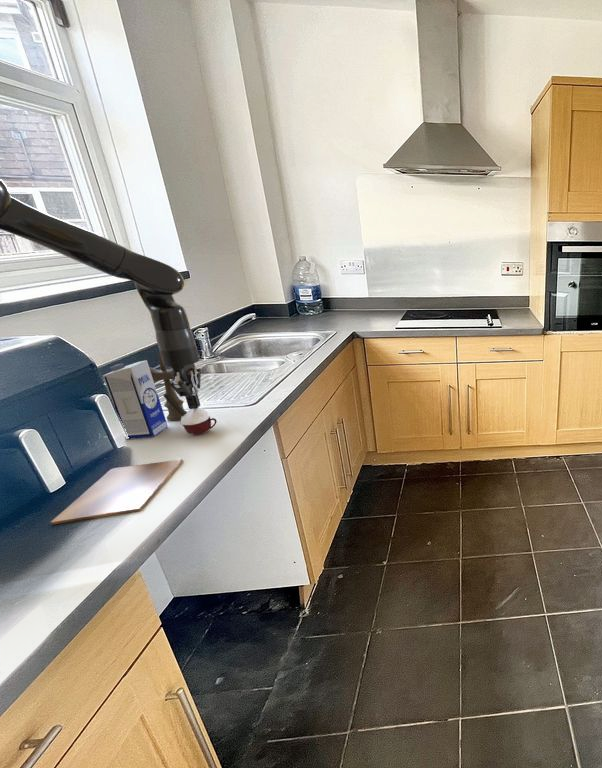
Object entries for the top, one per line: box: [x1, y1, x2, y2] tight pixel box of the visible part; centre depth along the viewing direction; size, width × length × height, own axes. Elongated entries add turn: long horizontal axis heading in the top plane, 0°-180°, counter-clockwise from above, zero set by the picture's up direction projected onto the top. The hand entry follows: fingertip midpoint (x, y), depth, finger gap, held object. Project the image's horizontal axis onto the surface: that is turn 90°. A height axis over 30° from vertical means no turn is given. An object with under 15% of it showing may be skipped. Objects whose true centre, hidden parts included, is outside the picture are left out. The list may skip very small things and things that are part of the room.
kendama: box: [149, 352, 188, 421], centre depth 120 cm, size 6×10×20 cm, turn 107°
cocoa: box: [162, 392, 218, 436], centre depth 112 cm, size 10×6×12 cm, turn 82°
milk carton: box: [102, 359, 169, 440], centre depth 111 cm, size 7×7×20 cm
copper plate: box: [50, 459, 184, 526], centre depth 89 cm, size 14×20×1 cm
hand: (194, 407), depth 112 cm, fingers closed
